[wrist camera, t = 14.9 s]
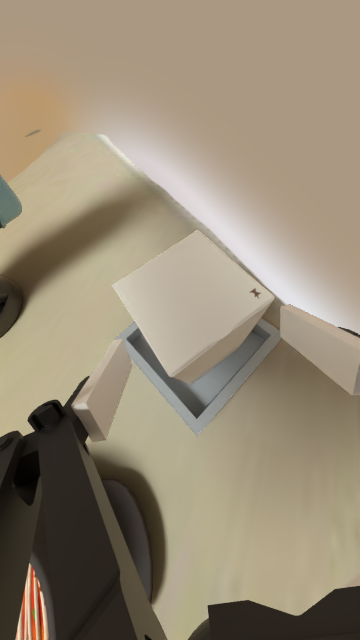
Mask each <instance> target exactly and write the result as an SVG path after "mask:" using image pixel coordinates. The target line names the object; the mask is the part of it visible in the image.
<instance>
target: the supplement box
mask: <svg viewBox="0 0 360 640" xmlns="http://www.w3.org/2000/svg"><path fill="white" fill-rule="evenodd" d="M112 287H113V288H114V289H115V291H116V292H117V294H118V295H119V297H120V299H121V300H122V302H123V303H124V305H125V306H126V308H127V310H128V311H129V313H130V314H131V316H132V317H133V319H134V321H135V322H136V324H137V326H138V327H139V329H140V330H141V332H142V334H143V335H144V337H145V339H146V340H147V342H148V344H149V345H150V347H151V348H152V350H153V352H154V353H155V355H156V357H157V358H158V360H159V361H160V363H161V365H162V366H163V368H164V369H165V371H166V373H167V374H168V375H169V377H173V378H176V379H178V380H181V381H183V382H185V383H188V384H189V385H191V384H193V383H194V382H196V381H197V380H198V379H199V378H201V377H202V376H203V375H205V374H206V373H207V372H209V371H210V370H211V369H212V368H214V367H215V366H216V365H218V364H219V363H220V362H221V361H223V360H224V359H225V358H227V357H228V356H229V355H231V354H232V353H233V352H234V351H236V350H237V349H238V348H239V347H240V345H241V344H242V343H243V341H244V340H245V339H246V337H247V336H248V334H249V333H250V332H251V330H252V329H253V328H254V326H255V325H256V324H257V322H258V321H259V320H260V318H261V317H262V315H263V314H264V313H265V311H266V310H267V309H268V307H269V306H270V305H271V303H272V302H273V300H274V299H275V296H274V295H273V294H272V293H270V292H269V291H268V290H267V289H266V288H264V287H263V286H262V285H261V284H260V283H258V282H257V281H256V280H255V279H254V278H253V277H251V276H250V275H249V274H248V273H247V272H246V271H244V270H243V269H242V268H241V267H240V266H239V265H238V264H236V263H235V262H234V261H233V260H232V259H231V258H230V257H228V256H227V255H226V254H225V253H224V252H223V251H222V250H221V249H220V248H219V247H217V246H216V245H215V244H214V243H213V242H212V241H211V240H210V239H209V238H207V237H206V236H205V235H204V234H203V233H201V232H200V231H199V230H196V231H194V232H193V233H191V234H190V235H188V236H187V237H185V238H184V239H182V240H181V241H179V242H178V243H176V244H174V245H173V246H171V247H170V248H168V249H167V250H165V251H164V252H162V253H161V254H159V255H158V256H156V257H155V258H153V259H151V260H150V261H148V262H147V263H145V264H144V265H142V266H141V267H139V268H138V269H136V270H134V271H133V272H131V273H130V274H128V275H127V276H125V277H123V278H122V279H120V280H119V281H117V282H116V283H114V284H112Z"/></svg>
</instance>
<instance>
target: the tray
mask: <svg viewBox="0 0 360 640" xmlns="http://www.w3.org/2000/svg"><path fill="white" fill-rule="evenodd" d="M118 339H123V342H124V344H125V347H126V350H127V352H128V355H129V357H130V358H131V359H132V360H133V361H134V362H135V364H136V365H137V366H138V367H139V368H140V370H141V371H142V372H143V373H144V374H145V375H146V377H147V378H148V379H149V380H150V381H151V382H152V384H153V385H154V386H155V387H156V388H157V390H158V391H159V392H160V393H161V394H162V395H163V397H164V398H165V399H166V400H167V401H168V403H169V404H170V405H171V406H172V407H173V408H174V410H175V411H176V412H177V413H178V414H179V416H180V417H181V418H182V419H183V420H184V421H185V423H186V424H187V425H188V426H189V427H190V428H191V430H192V431H193V432H194V433H195V434H196V436H198V435H199V434H200V433H201V431H202V430H203V429H204V428H205V427H206V426H207V424H208V423H209V422H210V421H211V420H212V419H213V418H214V416H215V415H216V414H217V413H218V412H219V411H220V409H221V408H222V407H223V406H224V405H225V404H226V402H227V401H228V400H229V399H230V398H231V397H232V396H233V394H234V393H235V392H236V391H237V390H238V389H239V387H240V386H241V385H242V384H243V383H244V382H245V380H246V379H247V378H248V377H249V376H250V375H251V373H252V372H253V371H254V370H255V369H256V368H257V367H258V365H259V364H260V363H261V362H262V361H263V360H264V358H265V357H266V356H267V355H268V354H269V353H270V351H271V350H272V349H273V348H274V347H275V346H276V345H277V343H278V342H279V341H280V340H281V339H282V338H281V337H280V331H279V330H278V329H276V328H275V327H274V326H272V325H271V324H269V323H268V322H267V321H265V320H264V319H263V318H260V320H259V321H258V322H257V324H256V325H255V326H254V328H253V329H252V330H251V332H250V333H249V334H248V336H247V337H246V339H245V340H244V341H243V343H242V344H241V345H240V347H239V348H238V349H237V350H236V351H234V352H233V353H232V354H231V355H229V356H228V357H227V358H225V359H224V360H223V361H221V362H220V363H219V364H218V365H216V366H215V367H214V368H212V369H211V370H210V371H209V372H207V373H206V374H205V375H203V376H202V377H201V378H199V379H198V380H197V381H196V382H194V383H193V384H191V385H189V384H188V383H185V382H183V381H181V380H178V379H176V378H173V377H169V375H168V374H167V373H166V371H165V369H164V368H163V366H162V365H161V363H160V361H159V360H158V358H157V357H156V355H155V353H154V352H153V350H152V348H151V347H150V345H149V344H148V342H147V340H146V339H145V337H144V335H143V334H142V332H141V330H140V329H139V327H138V326H137V324H136V322H135V321H134V322H133V323H132V324H131V325H130V326H129V327H128V328H126V329H125V330H124V331H123V332H122V333H121V334H120V335H119V336H118V337H116V338H115V340H118Z"/></svg>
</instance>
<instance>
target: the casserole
mask: <svg viewBox="0 0 360 640" xmlns="http://www.w3.org/2000/svg"><path fill="white" fill-rule="evenodd" d="M101 482H102V484H103V487H104V489H105V492H106V494H107V497H108V499H109V502H110V504H111V507H112V509H113V512H114V514H115V517H116V519H117V522H118V524H119V527H120V529H121V532H122V534H123V537H124V539H125V542H126V544H127V547H128V550H129V552H130V555H131V557H132V560H133V562H134V565H135V567H136V570H137V572H138V575H139V577H140V580H141V582H142V585H143V587H144V590H145V592H146V595H147V597H148V600H149V602H150V604H151V597H152V590H153V560H152V552H151V544H150V537H149V533H148V530H147V526H146V523H145V519H144V516H143V513H142V511H141V509H140V507H139V504H138V502H137V500H136V498H135V497H134V495H133V494H132V492H131V491H130V490H129V488H128V487H127V486H126V485H124V484H123V483H121V482H120V481H118V480H110V479H101ZM15 640H56V630H55V620H54V609H53V599H52V588H51V578H50V567H49V557H48V546H47V536H46V525H45V515H44V505H43V494H42V497H41V502H40V508H39V513H38V519H37V524H36V530H35V535H34V541H33V546H32V552H31V557H30V563H29V568H28V574H27V579H26V584H25V590H24V595H23V601H22V606H21V612H20V617H19V623H18V628H17V634H16V639H15Z"/></svg>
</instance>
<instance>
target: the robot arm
mask: <svg viewBox="0 0 360 640" xmlns="http://www.w3.org/2000/svg"><path fill="white" fill-rule="evenodd" d="M21 212H22V205H21V202H20V200H19V199H18V197H17V196H16V195H15V193H14V192H13V191H12V189H11V188H10V187H9V185H8V184H7V183H6V181H5V180H4V179H3V178H2V176H1V175H0V228H5V227H6V224H8V223H9V222H10V221H12V220H13V219H15V218H16V217H18V216H19V215H20V214H21ZM21 306H22V292H21V290H20V288H19V286H18V285H17V284H15V283H14V282H12V281H10V280H9V279H7V278H5V277H3V276H0V337H1V336H2V335H3V334H4V333H5V332H6V331H7V330H8V329H9V328H10V327H11V325H12V324H13V323H14V321H15V319H16V318H17V316H18V314H19V312H20V309H21ZM280 337H281V338H283V339H284V340H285V341H286V342H287V343H289V344H290V345H291V346H292V347H294V348H295V349H296V350H297V351H298V352H300V353H301V354H302V355H303V356H304V357H306V358H307V359H308V360H309V361H310V362H312V363H313V364H314V365H315V366H316V367H318V368H319V369H320V370H321V371H322V372H324V373H325V374H326V375H327V376H329V377H330V378H331V379H332V380H333V381H335V382H336V383H337V384H338V385H339V386H341V387H342V388H343V389H344V390H345V391H347V392H348V393H349V394H350V395H351V396H356V395H360V335H358V333H355V332H353V331H351V330H349V329H345V328H341V327H335V326H334V325H332V324H330V323H327V322H325V321H323V320H321V319H319V318H317V317H315V316H313V315H311V314H309V313H307V312H305V311H303V310H301V309H298V308H296V307H294V306H292V305H285V306H280ZM131 368H132V363H131V360H130V358H129V355H128V352H127V350H126V347H125V344H124V342H123V339H118V340H113V342H112V344H111V345H110V347H109V348H108V350H107V351H106V353H105V354H104V356H103V357H102V359H101V360H100V362H99V363H98V365H97V366H96V368H95V369H94V371H93V373H92V374H91V376H88V377H86V378H85V379H84V380H83V381H82V382H80V384H79V385H78V387H77V388H76V390H75V391H74V392H73V395H71V397H70V398H69V400H68V401H67V402H66V404H65V405H64V407H63V406H62V405H61V403H60V402H59V401H58V400H51V401H48V402H46V403H44V404H42V405H41V406H39V407H38V408H36V409H35V410H34V411H33V412H32V413H31V414H30V416H29V417H28V422H29V423H30V425H31V426H32V427H33V429H34V430H35V432H32V433H30V434H28V435H25V436H22V434H21V433H20V432H19V431H13V432H10V433H7V434H6V435H4V436H2V437H0V640H15V639H16V634H17V628H18V623H19V617H20V612H21V606H22V601H23V595H24V590H25V584H26V579H27V574H28V568H29V563H30V557H31V552H32V546H33V541H34V535H35V530H36V524H37V519H38V513H39V508H40V502H41V497H42V494H43V505H44V515H45V525H46V536H47V546H48V557H49V567H50V578H51V588H52V599H53V609H54V620H55V630H56V640H167V638H166V636H165V633H164V631H163V629H162V627H161V625H160V622H159V620H158V618H157V617H156V615H155V613H154V611H153V609H152V607H151V604H150V602H149V600H148V597H147V595H146V592H145V590H144V587H143V585H142V582H141V580H140V577H139V575H138V572H137V570H136V567H135V565H134V562H133V560H132V557H131V555H130V552H129V550H128V547H127V544H126V542H125V539H124V537H123V534H122V532H121V529H120V527H119V524H118V522H117V519H116V517H115V514H114V512H113V509H112V507H111V504H110V502H109V499H108V497H107V494H106V492H105V489H104V487H103V484H102V482H101V479H100V477H99V474H98V472H97V469H96V467H95V464H94V462H93V459H92V457H91V454H90V452H89V449H88V446H87V445H86V443H85V441H86V439H87V437H88V435H89V437H90V439H91V440H92V442H96V441H102V440H106V438H107V436H108V433H109V430H110V427H111V424H112V422H113V419H114V416H115V413H116V410H117V407H118V405H119V402H120V399H121V396H122V393H123V390H124V388H125V385H126V382H127V379H128V376H129V374H130V371H131ZM208 614H209V618H208V619H207V620H205V621H204V622H203V623H201V625H200V626H199V627H198V628H197V629H196V630H195V631H194V632H193V633H192V635H191V636H190V637H189V639H188V640H360V586H356V587H348V588H340V589H334V590H333V591H332V592H331V593H329V594H328V595H327V596H325V597H324V598H323V599H321V600H320V601H319V602H317V603H316V604H315V605H314V606H312V607H311V608H310V609H308V610H307V611H306V612H304V613H303V614H302V615H299V616H295V615H291V614H288V613H285V612H282V611H279V610H276V609H273V608H270V607H267V606H264V605H261V604H258V603H255V602H252V601H249V600H245V601H238V602H230V603H222V604H214V605H208Z"/></svg>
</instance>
